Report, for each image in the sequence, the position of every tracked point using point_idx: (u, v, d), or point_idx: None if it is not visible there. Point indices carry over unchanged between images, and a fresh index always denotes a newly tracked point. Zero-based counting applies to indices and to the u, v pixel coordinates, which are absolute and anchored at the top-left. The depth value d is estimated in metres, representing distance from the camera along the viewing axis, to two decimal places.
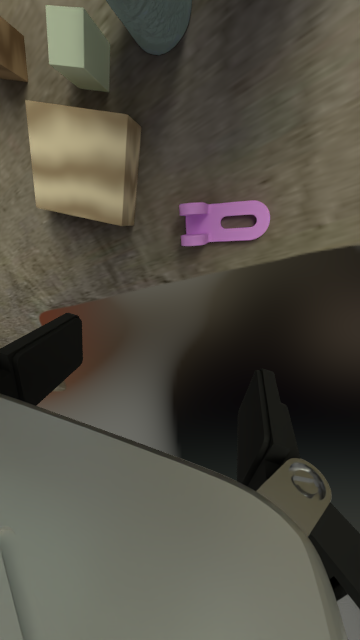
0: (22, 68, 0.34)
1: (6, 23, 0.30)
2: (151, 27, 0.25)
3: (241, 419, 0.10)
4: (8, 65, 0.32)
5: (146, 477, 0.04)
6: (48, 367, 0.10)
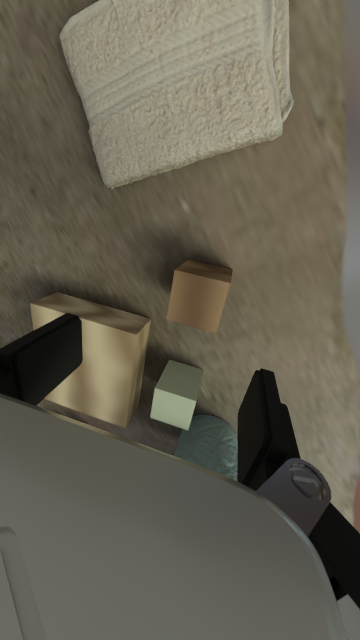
0: None
1: None
2: None
3: (241, 419, 0.10)
4: None
5: (146, 477, 0.04)
6: (48, 367, 0.10)
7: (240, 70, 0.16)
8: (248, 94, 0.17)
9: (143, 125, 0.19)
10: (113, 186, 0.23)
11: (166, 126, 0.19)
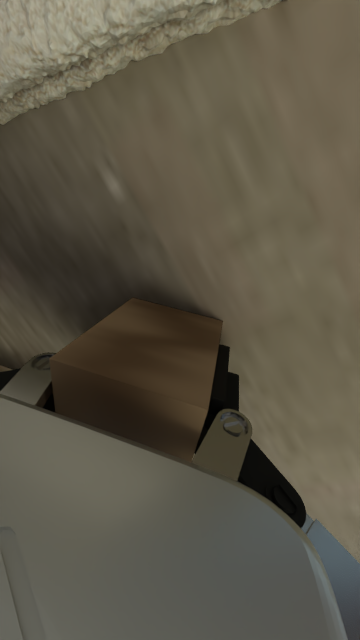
0: None
1: None
2: None
3: None
4: None
5: (146, 476, 0.04)
6: None
7: None
8: None
9: None
10: None
11: None
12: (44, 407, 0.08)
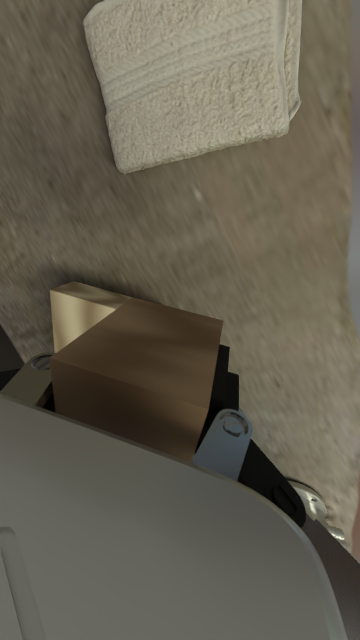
0: None
1: None
2: None
3: None
4: None
5: (146, 476, 0.04)
6: None
7: (253, 69, 0.18)
8: (259, 92, 0.18)
9: (159, 114, 0.20)
10: (125, 171, 0.24)
11: (180, 117, 0.20)
12: (44, 407, 0.08)
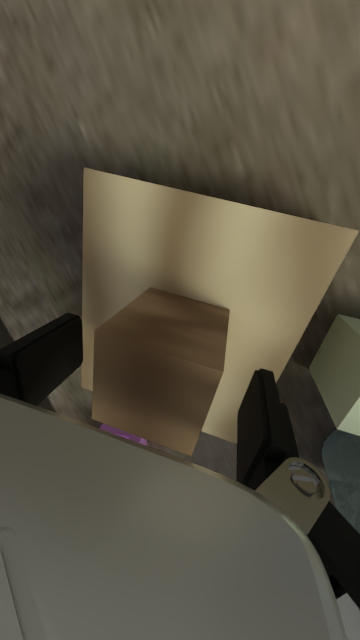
0: None
1: None
2: (339, 511, 0.17)
3: (241, 419, 0.10)
4: None
5: (146, 477, 0.04)
6: (49, 367, 0.10)
7: None
8: None
9: None
10: None
11: None
12: None
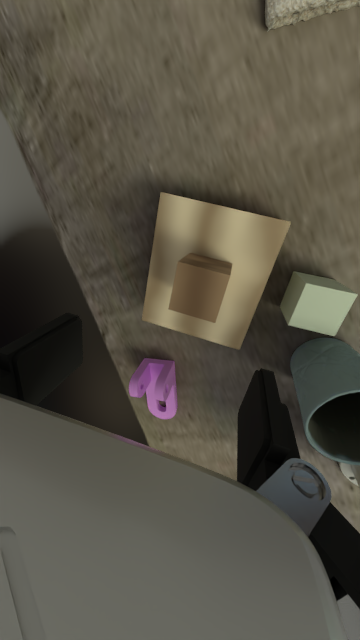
0: None
1: None
2: (295, 385, 0.29)
3: (241, 419, 0.10)
4: None
5: (146, 477, 0.04)
6: (48, 367, 0.10)
7: None
8: None
9: None
10: (274, 23, 0.20)
11: None
12: None
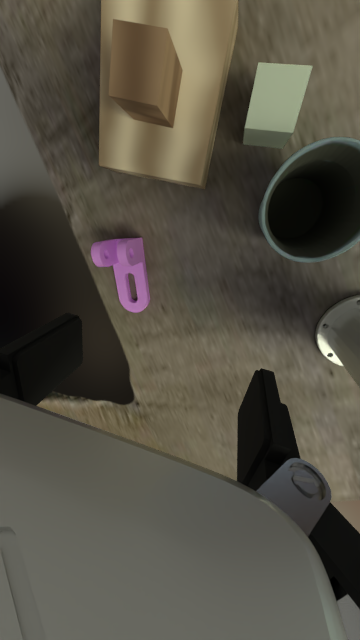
0: (139, 118, 0.26)
1: (164, 118, 0.24)
2: (259, 217, 0.27)
3: (241, 419, 0.10)
4: (125, 108, 0.24)
5: (146, 476, 0.04)
6: (48, 367, 0.10)
7: None
8: None
9: None
10: None
11: None
12: None
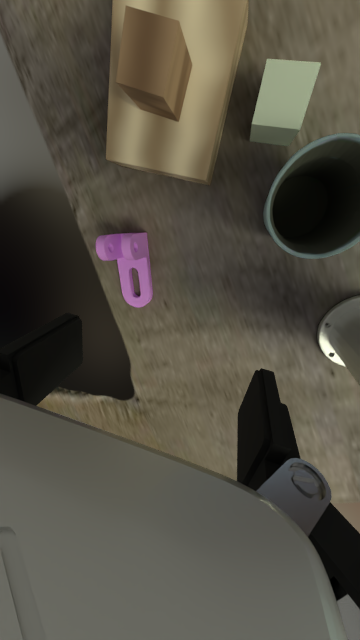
0: (146, 108, 0.26)
1: (170, 111, 0.24)
2: (264, 214, 0.28)
3: (241, 419, 0.10)
4: (132, 97, 0.24)
5: (146, 477, 0.04)
6: (48, 367, 0.10)
7: None
8: None
9: None
10: None
11: None
12: None
